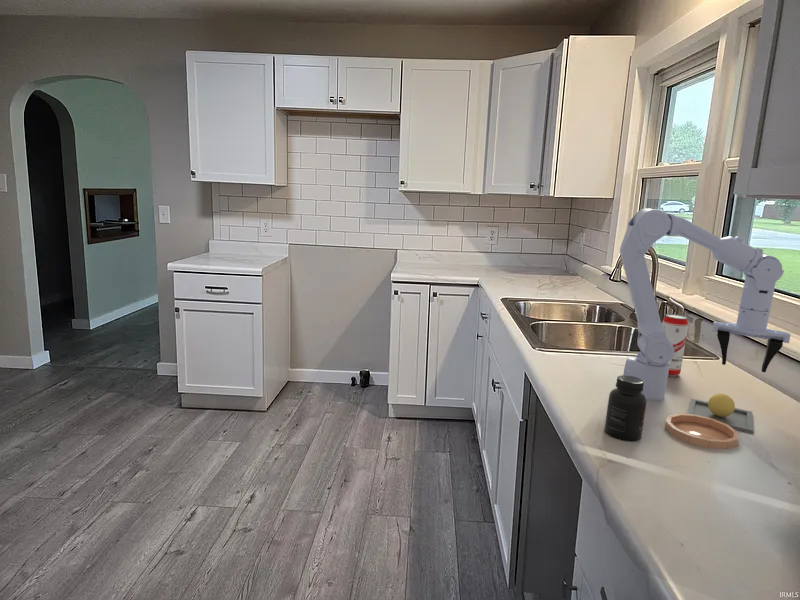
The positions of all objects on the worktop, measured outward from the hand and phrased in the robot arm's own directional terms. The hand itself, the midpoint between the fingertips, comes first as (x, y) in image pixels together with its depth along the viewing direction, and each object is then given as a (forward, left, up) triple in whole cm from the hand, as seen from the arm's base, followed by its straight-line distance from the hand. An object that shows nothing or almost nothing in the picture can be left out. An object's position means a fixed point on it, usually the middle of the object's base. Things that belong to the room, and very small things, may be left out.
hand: (743, 367), depth 124 cm
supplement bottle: (-19, -33, -10) cm, 39 cm away
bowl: (-6, -23, -10) cm, 26 cm away
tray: (-3, -10, -10) cm, 14 cm away
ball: (-3, -10, -9) cm, 14 cm away
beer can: (-16, +17, -10) cm, 25 cm away
